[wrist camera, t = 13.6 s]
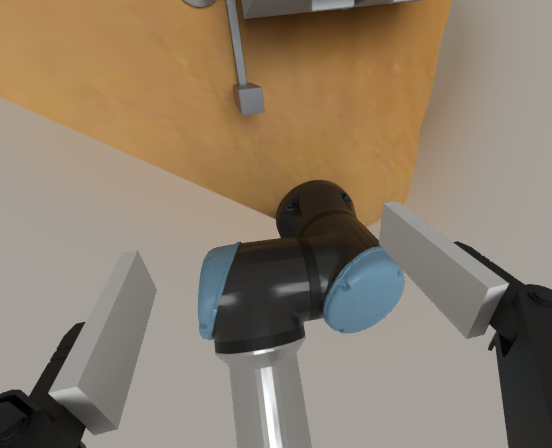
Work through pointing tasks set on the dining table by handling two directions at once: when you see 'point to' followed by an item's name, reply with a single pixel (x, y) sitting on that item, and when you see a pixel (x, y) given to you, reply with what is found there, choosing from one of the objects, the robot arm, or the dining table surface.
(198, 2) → the steel token
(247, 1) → the cabinet
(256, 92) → the l-shaped tool
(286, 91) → the dining table surface
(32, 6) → the dining table surface
